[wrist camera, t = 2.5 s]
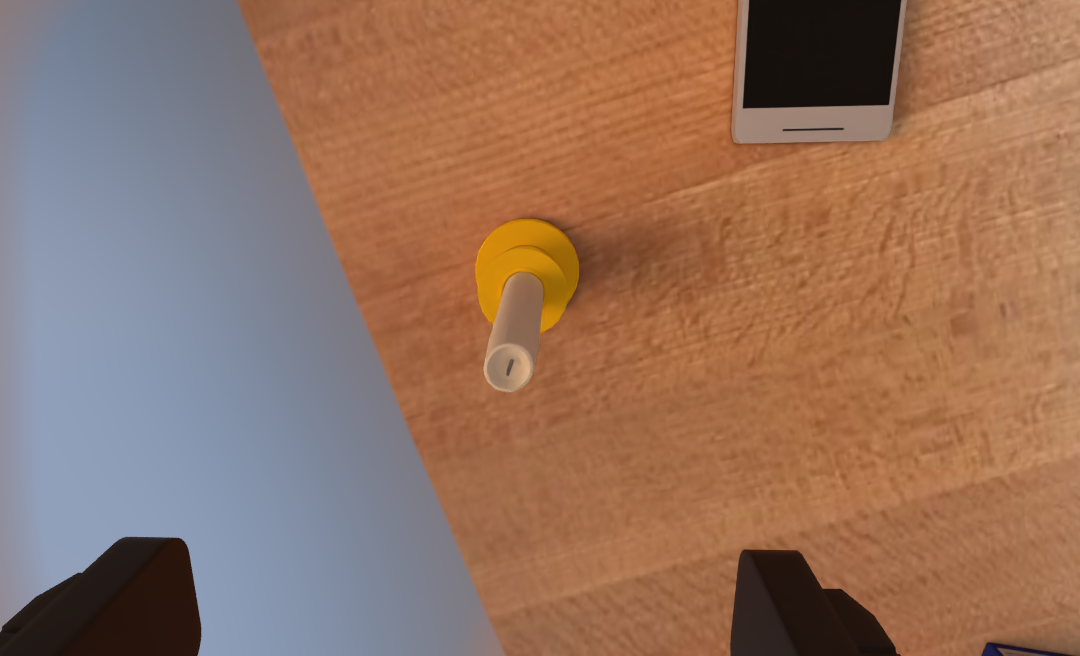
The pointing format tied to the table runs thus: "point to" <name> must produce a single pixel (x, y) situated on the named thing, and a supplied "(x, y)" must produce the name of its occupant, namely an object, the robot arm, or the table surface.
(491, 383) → the candle
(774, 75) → the smartphone
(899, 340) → the table surface
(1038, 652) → the milk carton
